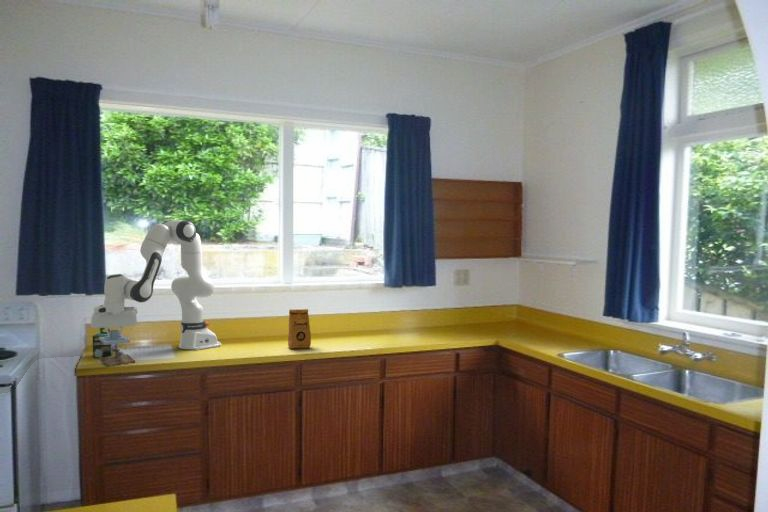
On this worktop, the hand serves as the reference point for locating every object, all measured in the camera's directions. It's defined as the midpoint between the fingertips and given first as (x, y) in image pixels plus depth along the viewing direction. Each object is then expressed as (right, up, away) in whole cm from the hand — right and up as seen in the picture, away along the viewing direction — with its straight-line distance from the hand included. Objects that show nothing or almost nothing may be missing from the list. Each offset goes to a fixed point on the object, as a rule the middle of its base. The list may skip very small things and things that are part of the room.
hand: (114, 335), depth 266 cm
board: (+1, -13, +2) cm, 13 cm away
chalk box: (-11, -12, +13) cm, 21 cm away
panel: (0, -3, 0) cm, 3 cm away
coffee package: (+84, -13, +40) cm, 94 cm away
